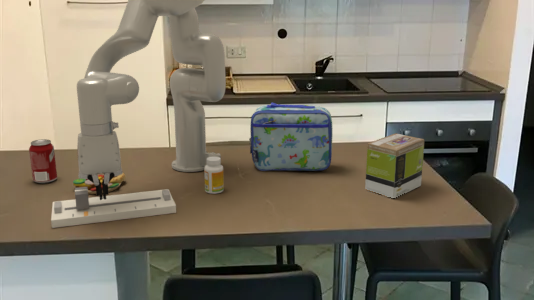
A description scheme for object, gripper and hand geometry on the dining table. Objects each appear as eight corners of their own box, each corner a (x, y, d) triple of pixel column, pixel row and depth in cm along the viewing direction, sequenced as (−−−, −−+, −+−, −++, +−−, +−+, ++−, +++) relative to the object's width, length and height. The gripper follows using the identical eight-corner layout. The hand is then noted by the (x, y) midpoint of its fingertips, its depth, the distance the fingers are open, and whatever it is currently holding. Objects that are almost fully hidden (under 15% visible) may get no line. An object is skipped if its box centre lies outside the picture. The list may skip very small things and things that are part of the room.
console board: (168, 195, 150) (168, 184, 149) (176, 212, 139) (175, 200, 138) (53, 208, 140) (52, 196, 139) (51, 228, 129) (50, 214, 128)
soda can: (49, 185, 156) (44, 145, 153) (28, 183, 158) (23, 144, 154) (62, 177, 163) (57, 139, 159) (41, 175, 164) (37, 138, 160)
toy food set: (130, 181, 161) (129, 171, 160) (111, 198, 149) (110, 187, 148) (89, 178, 163) (88, 168, 162) (66, 194, 151) (65, 183, 150)
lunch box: (248, 171, 169) (248, 106, 163) (252, 161, 180) (252, 99, 173) (331, 175, 167) (334, 109, 161) (330, 164, 177) (333, 102, 171)
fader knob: (88, 201, 139) (87, 186, 138) (89, 208, 135) (87, 193, 133) (76, 202, 138) (74, 187, 137) (76, 209, 134) (74, 194, 132)
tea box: (392, 178, 165) (396, 131, 161) (421, 187, 158) (426, 138, 154) (363, 190, 155) (366, 141, 151) (393, 200, 148) (397, 149, 144)
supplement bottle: (226, 188, 155) (226, 156, 152) (219, 195, 150) (218, 162, 148) (209, 186, 157) (209, 154, 154) (201, 192, 152) (200, 160, 149)
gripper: (126, 122, 138) (131, 189, 143) (64, 127, 133) (72, 195, 139) (129, 130, 131) (134, 199, 137) (64, 134, 126) (71, 206, 132)
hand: (102, 197), depth 138 cm, fingers closed
